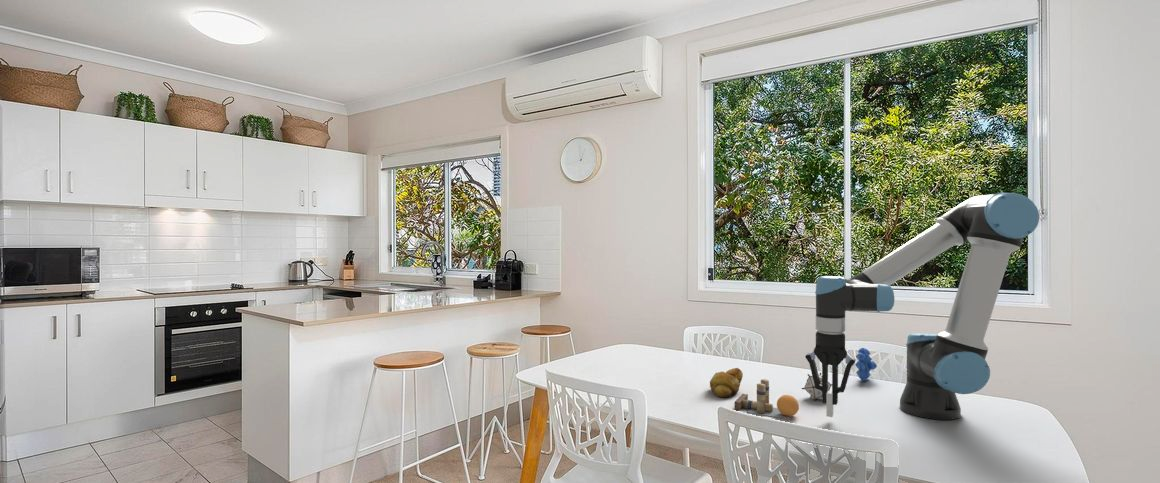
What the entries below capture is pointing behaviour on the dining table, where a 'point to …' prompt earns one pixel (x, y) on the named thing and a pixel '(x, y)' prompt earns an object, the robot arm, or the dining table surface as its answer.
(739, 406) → the backstop
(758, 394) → the pin
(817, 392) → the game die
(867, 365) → the grapes
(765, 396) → the pin
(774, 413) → the pin deck
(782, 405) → the ball
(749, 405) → the front pin
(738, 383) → the bread roll
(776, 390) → the dining table surface
